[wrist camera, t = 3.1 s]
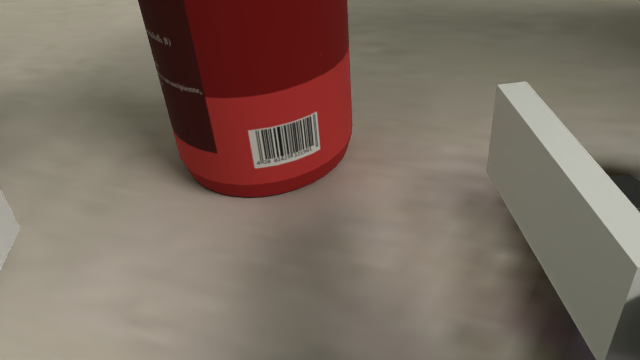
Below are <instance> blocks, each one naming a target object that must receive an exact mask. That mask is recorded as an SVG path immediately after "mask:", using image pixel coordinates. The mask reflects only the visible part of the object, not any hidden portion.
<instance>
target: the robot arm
mask: <svg viewBox="0 0 640 360" xmlns="http://www.w3.org/2000/svg"><path fill="white" fill-rule="evenodd" d="M487 173H488V175H489V177H490V178H491V180H492V182H493V183H494V185H495V187H496V189H497V190H498V192H499V194H500V195H501V197H502V199H503V201H504V202H505V204H506V206H507V207H508V209H509V211H510V213H511V214H512V216H513V218H514V219H515V221H516V223H517V225H518V226H519V228H520V230H521V231H522V233H523V235H524V237H525V238H526V240H527V242H528V243H529V245H530V247H531V249H532V250H533V252H534V254H535V255H536V257H537V259H538V261H539V262H540V264H541V266H542V268H543V269H544V271H545V273H546V274H547V276H548V278H549V280H550V281H551V283H552V285H553V286H554V288H555V290H556V292H557V293H558V295H559V297H560V298H561V300H562V302H563V304H564V305H565V307H566V309H567V310H568V312H569V314H570V316H571V317H572V319H573V321H574V322H575V324H576V326H577V328H578V329H579V331H580V333H581V334H582V336H583V338H584V340H585V341H586V343H587V345H588V347H589V348H590V350H591V352H592V353H593V355H594V357H595V359H596V360H640V181H639V180H637V179H635V178H633V177H632V176H630V175H628V174H627V175H619V176H611V177H609V176H608V175H607V174H606V173H605V172H604V170H603V169H602V168H601V167H600V166H599V165H598V164H597V162H596V161H595V160H594V159H593V158H592V157H591V155H590V154H589V153H588V152H587V151H586V150H585V149H584V147H583V146H582V145H581V144H580V143H579V142H578V140H577V139H576V138H575V137H574V136H573V135H572V134H571V132H570V131H569V130H568V129H567V128H566V127H565V125H564V124H563V123H562V122H561V121H560V120H559V119H558V117H557V116H556V115H555V114H554V113H553V112H552V110H551V109H550V108H549V107H548V106H547V105H546V104H545V102H544V101H543V100H542V99H541V98H540V97H539V95H538V94H537V93H536V92H535V91H534V90H533V89H532V87H531V86H530V85H529V84H528V83H527V82H526V81H525V82H516V83H508V84H499V85H497V90H496V99H495V107H494V115H493V123H492V132H491V140H490V148H489V156H488V165H487ZM19 230H20V227H19V225H18V223H17V221H16V219H15V217H14V215H13V213H12V211H11V209H10V207H9V205H8V203H7V201H6V199H5V197H4V195H3V193H2V191H1V189H0V270H1V268H2V266H3V264H4V262H5V260H6V258H7V255H8V253H9V251H10V249H11V247H12V245H13V243H14V241H15V239H16V237H17V234H18V232H19Z"/></svg>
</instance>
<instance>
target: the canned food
mask: <svg viewBox="0 0 640 360" xmlns="http://www.w3.org/2000/svg"><path fill="white" fill-rule="evenodd" d="M138 2H139V6H140V9H141V13H142V17H143V20H144V24H145V28H146V31H147V35H148V39H149V43H150V46H151V50H152V54H153V57H154V61H155V65H156V69H157V72H158V76H159V80H160V83H161V87H162V91H163V95H164V98H165V102H166V106H167V109H168V113H169V117H170V121H171V124H172V128H173V132H174V135H175V139H176V143H177V146H178V150H179V154H180V158H181V160H182V161H183V163H184V164H185V166H186V167H187V168H188V170H189V171H190V173H191V174H192V176H193V177H194V179H195V180H196V181H198V182H199V183H200V184H201V185H203V186H204V187H206V188H208V189H211V190H213V191H215V192H218V193H222V194H226V195H231V196H241V197H264V196H270V195H277V194H282V193H286V192H289V191H293V190H296V189H299V188H301V187H304V186H306V185H308V184H311V183H313V182H315V181H316V180H318V179H320V178H321V177H323V176H325V175H326V174H327V173H329V172H330V171H331V170H332V169H333V168H335V167H336V166H337V164H338V163H339V162H340V161H341V159H342V158H343V156H344V154H345V152H346V150H347V147H348V143H349V140H350V137H351V133H352V108H351V84H350V61H349V37H348V14H347V0H138Z"/></svg>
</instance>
